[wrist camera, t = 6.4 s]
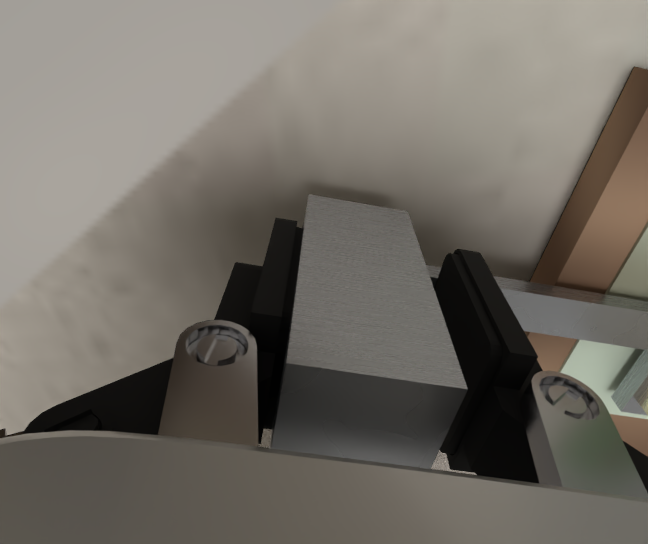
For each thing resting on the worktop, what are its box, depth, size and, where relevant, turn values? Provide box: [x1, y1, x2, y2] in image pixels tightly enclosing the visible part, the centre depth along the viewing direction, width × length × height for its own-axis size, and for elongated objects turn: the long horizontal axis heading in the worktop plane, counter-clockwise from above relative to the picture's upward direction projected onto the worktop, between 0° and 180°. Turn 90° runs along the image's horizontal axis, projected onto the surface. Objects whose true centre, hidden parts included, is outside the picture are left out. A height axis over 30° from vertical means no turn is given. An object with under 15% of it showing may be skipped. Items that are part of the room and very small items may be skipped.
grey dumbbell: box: [269, 194, 648, 469], centre depth 10 cm, size 6×16×6 cm, turn 80°
